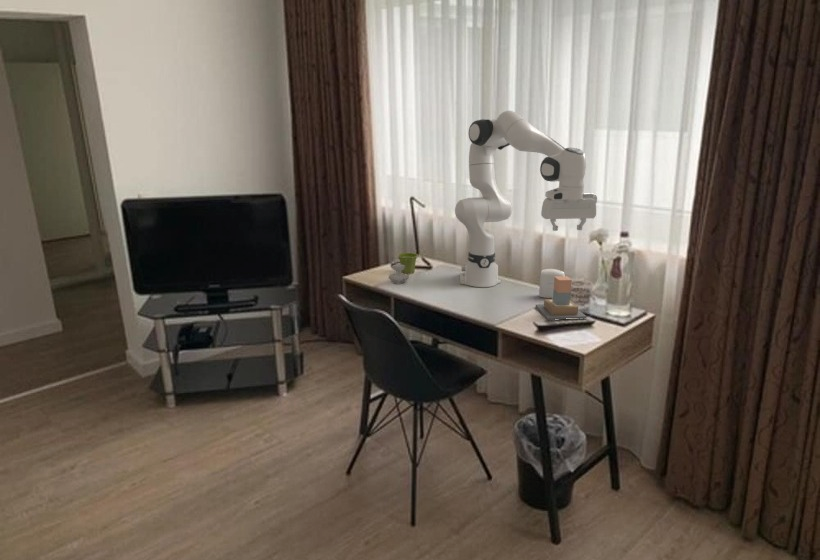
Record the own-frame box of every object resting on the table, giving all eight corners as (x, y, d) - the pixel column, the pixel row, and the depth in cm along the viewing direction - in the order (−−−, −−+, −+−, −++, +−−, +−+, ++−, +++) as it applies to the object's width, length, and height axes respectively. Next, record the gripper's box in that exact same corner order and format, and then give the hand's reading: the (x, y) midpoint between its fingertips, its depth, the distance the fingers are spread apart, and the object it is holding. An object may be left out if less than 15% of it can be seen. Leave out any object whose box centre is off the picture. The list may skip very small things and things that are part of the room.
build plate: (535, 307, 240) (536, 297, 239) (571, 306, 242) (572, 296, 240) (548, 320, 226) (548, 309, 225) (586, 319, 227) (587, 308, 226)
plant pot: (407, 276, 280) (407, 258, 278) (393, 272, 287) (393, 254, 284) (421, 272, 286) (421, 255, 284) (408, 268, 293) (408, 251, 290)
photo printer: (537, 297, 252) (539, 269, 249) (539, 294, 256) (541, 266, 252) (562, 300, 248) (564, 272, 245) (564, 297, 252) (566, 269, 248)
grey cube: (552, 300, 235) (553, 288, 233) (564, 300, 235) (565, 288, 234) (557, 305, 230) (558, 292, 228) (569, 304, 230) (570, 292, 229)
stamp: (410, 283, 270) (411, 265, 268) (401, 286, 266) (401, 268, 263) (396, 279, 276) (396, 261, 274) (386, 282, 271) (386, 264, 269)
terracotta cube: (553, 288, 233) (554, 276, 232) (565, 288, 234) (566, 276, 232) (557, 292, 228) (558, 280, 227) (570, 292, 229) (571, 279, 227)
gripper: (594, 191, 224) (590, 227, 228) (541, 192, 222) (538, 228, 226) (601, 194, 218) (597, 231, 222) (547, 195, 216) (544, 232, 220)
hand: (567, 230), depth 224 cm, fingers open, 8 cm apart
